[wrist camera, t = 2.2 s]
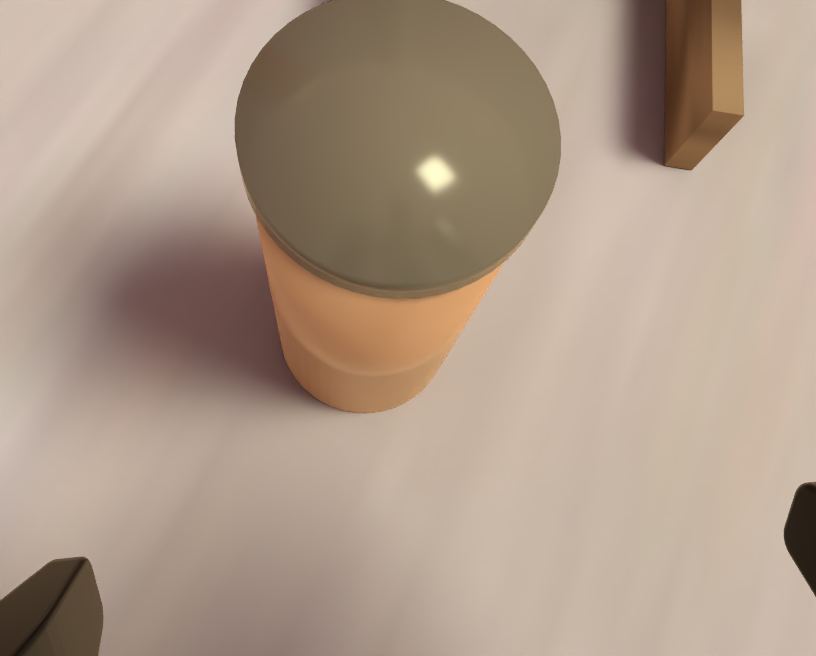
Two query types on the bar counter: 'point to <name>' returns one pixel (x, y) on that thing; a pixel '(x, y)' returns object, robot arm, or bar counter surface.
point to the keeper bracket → (701, 77)
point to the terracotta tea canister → (389, 185)
